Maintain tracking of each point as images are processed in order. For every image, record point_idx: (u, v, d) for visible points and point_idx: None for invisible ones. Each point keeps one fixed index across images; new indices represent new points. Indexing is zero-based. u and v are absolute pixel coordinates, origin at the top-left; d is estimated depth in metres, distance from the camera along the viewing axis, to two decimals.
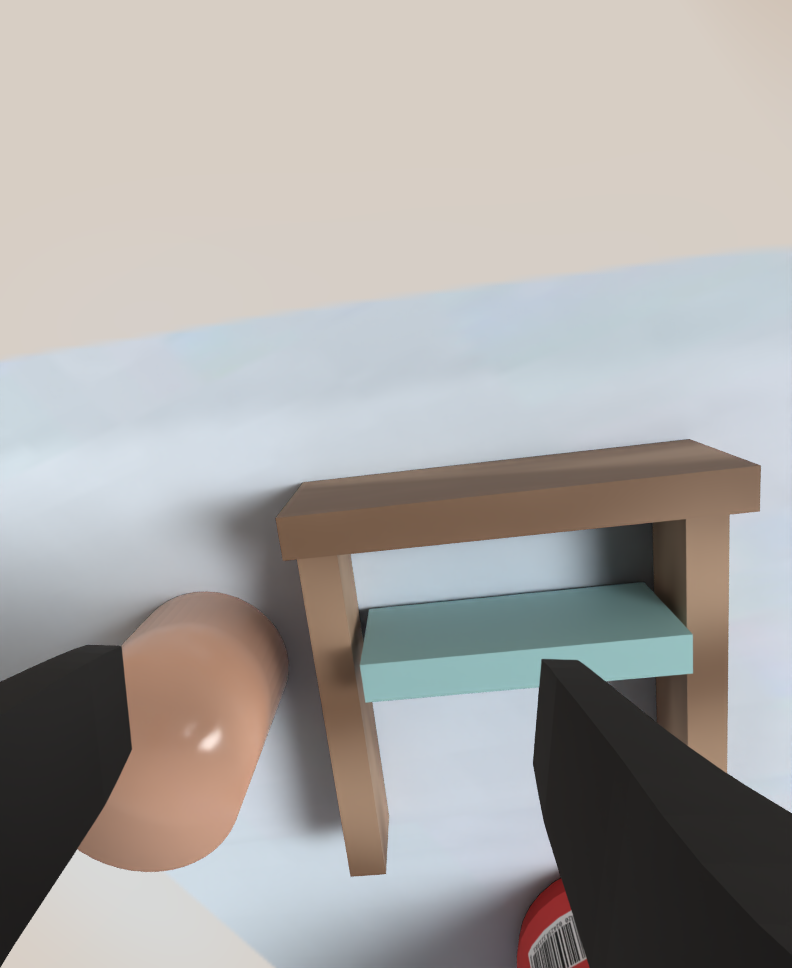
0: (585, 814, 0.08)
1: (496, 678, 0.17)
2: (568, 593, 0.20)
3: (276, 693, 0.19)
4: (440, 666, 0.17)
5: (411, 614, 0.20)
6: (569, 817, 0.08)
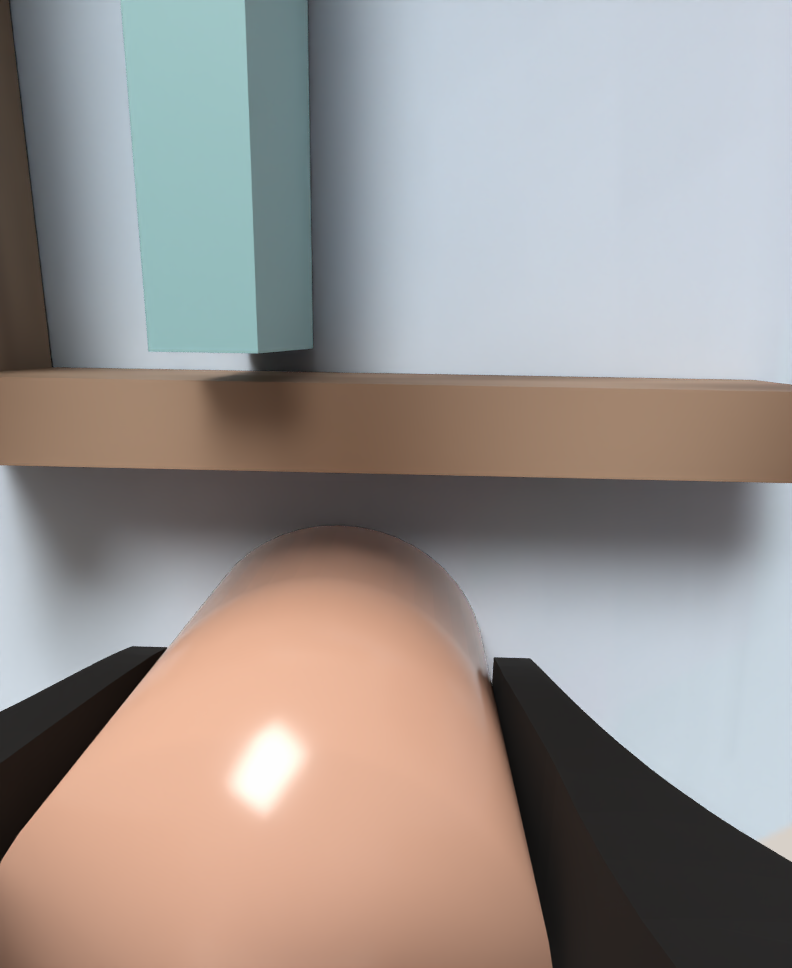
0: (524, 812, 0.08)
1: None
2: None
3: (342, 564, 0.09)
4: (155, 119, 0.06)
5: None
6: None
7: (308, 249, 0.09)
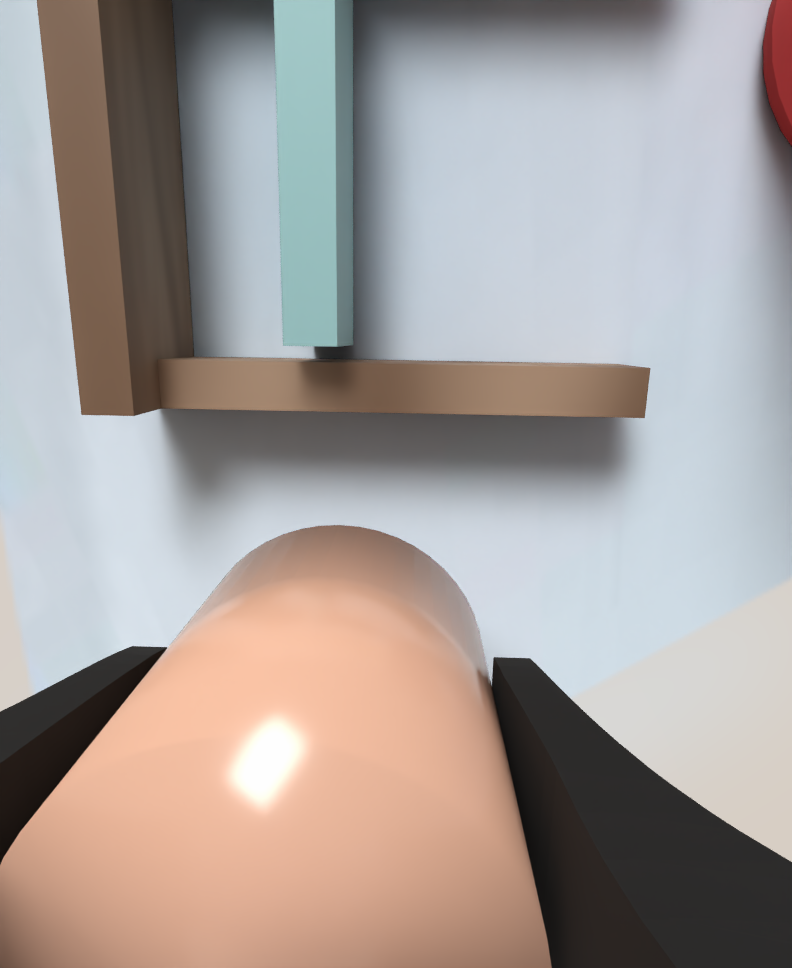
0: (524, 812, 0.08)
1: (317, 158, 0.12)
2: None
3: (342, 564, 0.09)
4: (292, 236, 0.13)
5: None
6: None
7: (352, 287, 0.16)
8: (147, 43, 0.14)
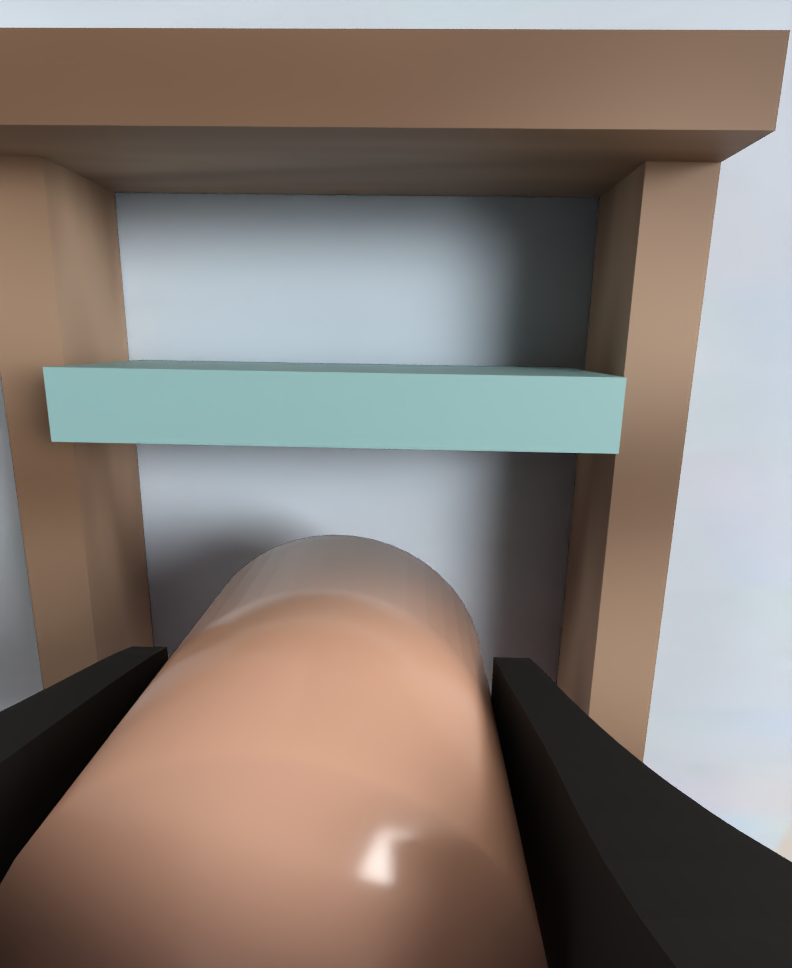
0: (524, 812, 0.08)
1: (280, 422, 0.10)
2: (449, 366, 0.13)
3: (357, 578, 0.09)
4: (183, 386, 0.09)
5: (197, 362, 0.12)
6: None
7: None
8: (463, 172, 0.11)
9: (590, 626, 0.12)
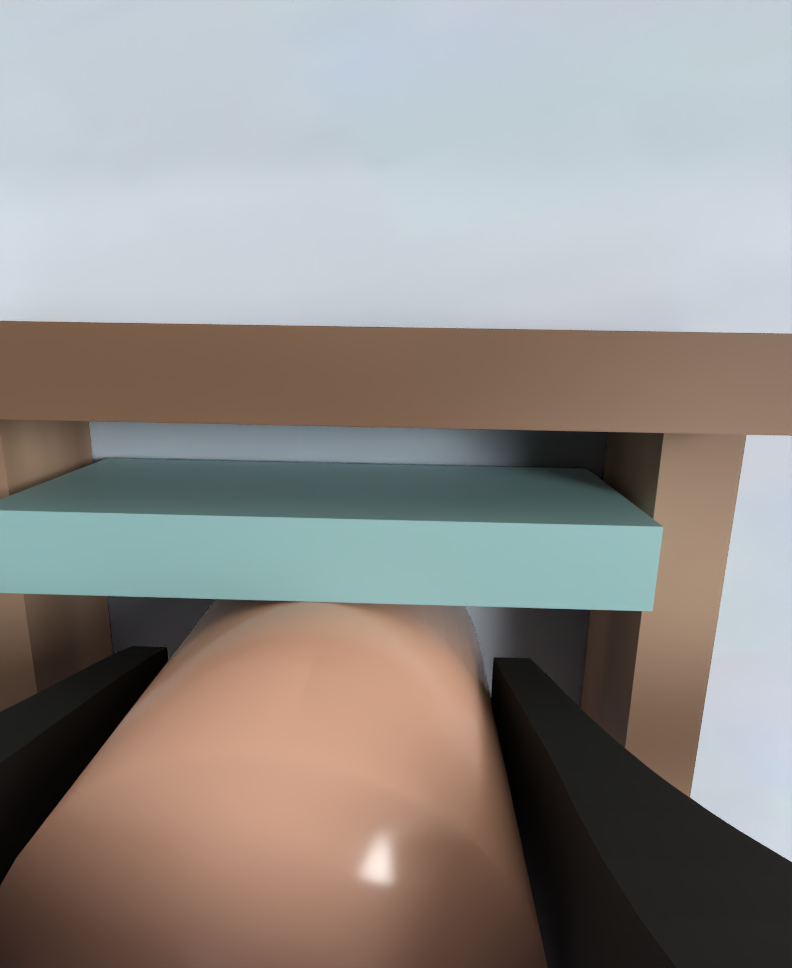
0: (524, 812, 0.08)
1: (254, 573, 0.08)
2: (452, 468, 0.11)
3: None
4: (139, 532, 0.08)
5: (166, 467, 0.11)
6: None
7: None
8: None
9: None
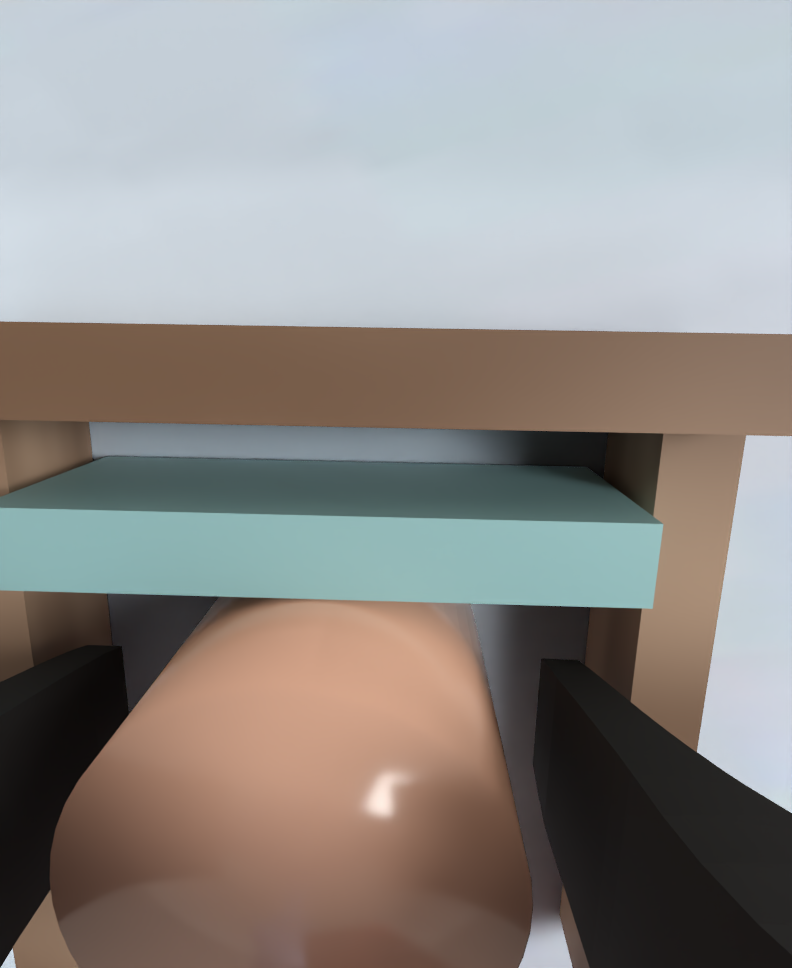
0: (585, 814, 0.08)
1: (254, 570, 0.08)
2: (452, 467, 0.11)
3: None
4: (139, 530, 0.08)
5: (166, 465, 0.11)
6: (569, 817, 0.08)
7: None
8: None
9: None
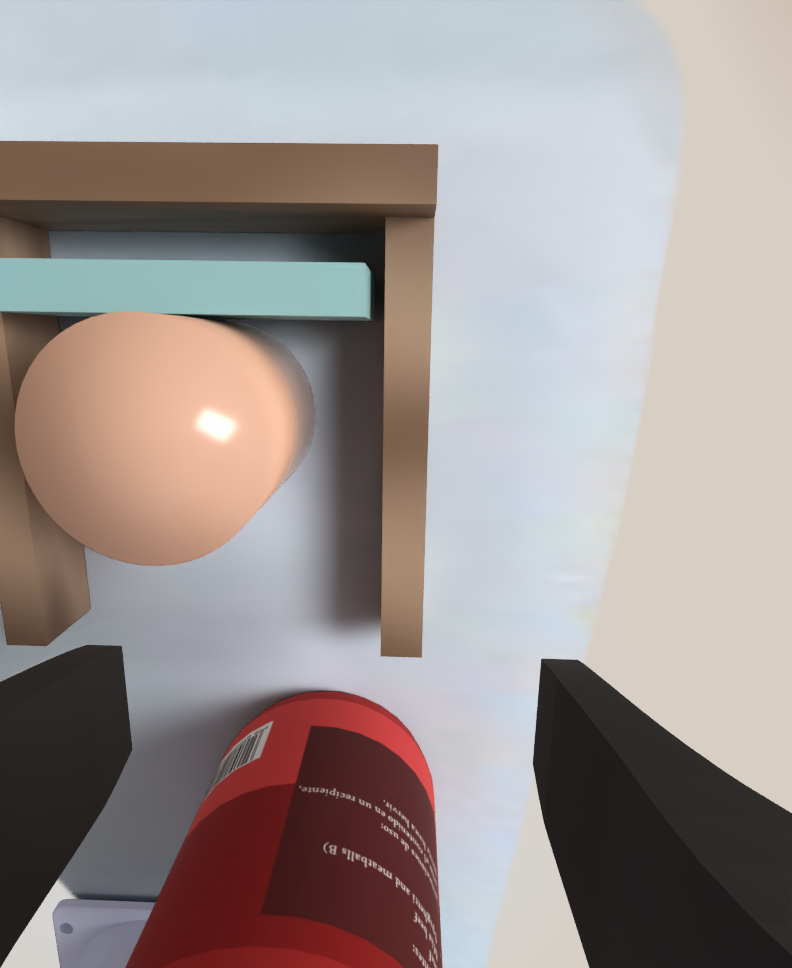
0: (585, 814, 0.08)
1: (136, 296, 0.14)
2: None
3: (220, 320, 0.16)
4: (69, 270, 0.14)
5: None
6: (569, 817, 0.08)
7: None
8: (275, 221, 0.16)
9: None
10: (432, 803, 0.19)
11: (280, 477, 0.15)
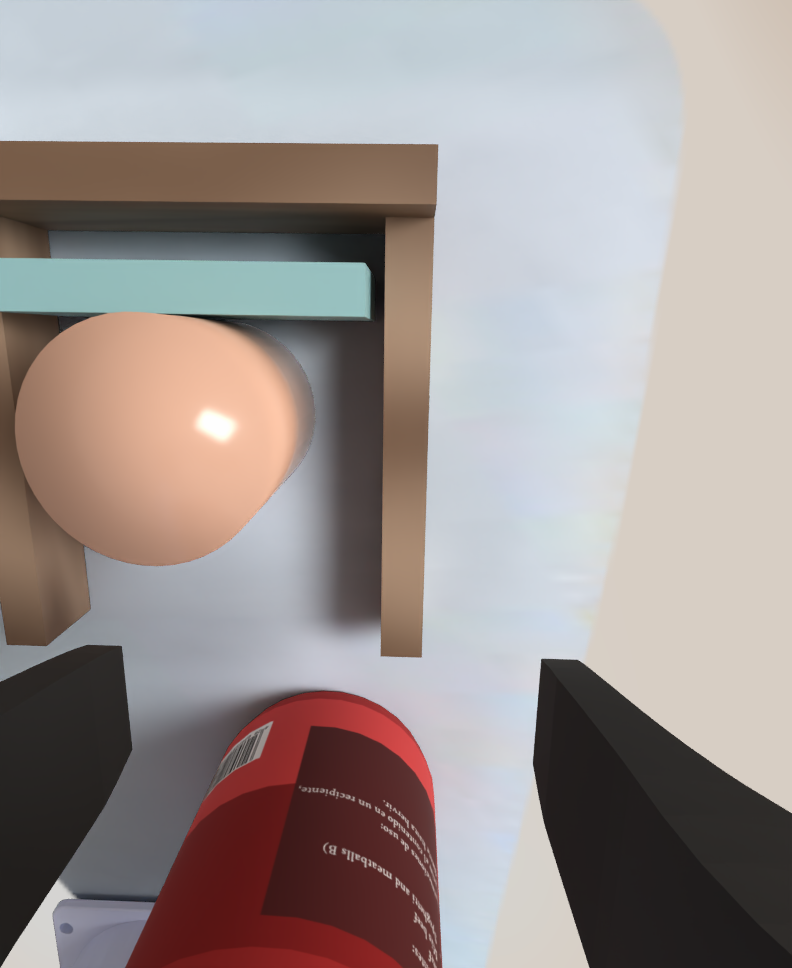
0: (585, 814, 0.08)
1: (136, 296, 0.14)
2: None
3: (220, 320, 0.16)
4: (69, 270, 0.14)
5: None
6: (569, 817, 0.08)
7: None
8: (275, 221, 0.16)
9: None
10: (432, 803, 0.19)
11: (280, 477, 0.15)
